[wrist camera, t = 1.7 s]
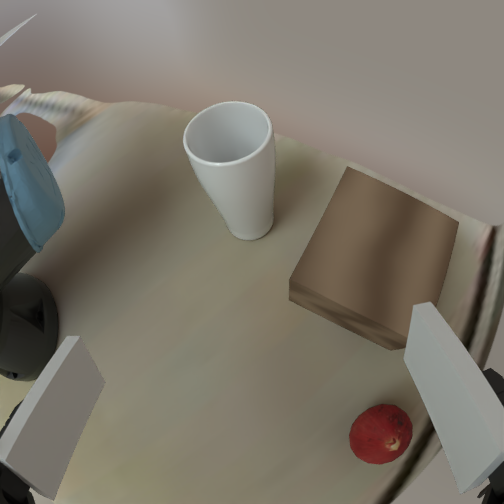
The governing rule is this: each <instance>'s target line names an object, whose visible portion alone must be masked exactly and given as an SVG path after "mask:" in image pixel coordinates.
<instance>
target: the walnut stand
mask: <svg viewBox="0 0 504 504" xmlns="http://www.w3.org/2000/svg"><path fill="white" fill-rule="evenodd" d="M458 225H459V222H458V221H456V220H454V219H452V218H451V217H449V216H447V215H445V214H443V213H442V212H440V211H438V210H436V209H434V208H433V207H431V206H429V205H427V204H425V203H423V202H421V201H419V200H417V199H415V198H413V197H412V196H410V195H408V194H406V193H404V192H402V191H400V190H398V189H396V188H393V187H391V186H389V185H387V184H385V183H383V182H381V181H379V180H377V179H375V178H372V177H370V176H368V175H366V174H364V173H361V172H359V171H357V170H355V169H352V168H350V167H348V166H347V168H346V170H345V172H344V174H343V176H342V178H341V180H340V182H339V184H338V186H337V188H336V190H335V192H334V194H333V196H332V198H331V200H330V202H329V204H328V206H327V208H326V210H325V212H324V214H323V216H322V218H321V220H320V222H319V224H318V226H317V228H316V230H315V232H314V234H313V236H312V238H311V240H310V241H309V243H308V245H307V247H306V249H305V251H304V253H303V255H302V257H301V258H300V260H299V262H298V264H297V266H296V268H295V270H294V272H293V273H292V275H291V277H290V279H289V300H290V301H292V302H294V303H296V304H298V305H300V306H302V307H304V308H306V309H308V310H310V311H312V312H314V313H316V314H318V315H320V316H322V317H324V318H326V319H328V320H330V321H332V322H334V323H336V324H338V325H340V326H342V327H344V328H346V329H348V330H350V331H352V332H354V333H356V334H358V335H360V336H362V337H364V338H366V339H368V340H370V341H372V342H374V343H376V344H378V345H380V346H382V347H384V348H387V349H389V350H396V349H402V348H406V344H407V339H408V334H409V328H410V323H411V317H412V311H413V305H416V304H421V303H426V302H431V303H432V304H433V305H434V307H435V308H436V305H437V302H438V299H439V296H440V293H441V289H442V286H443V283H444V280H445V276H446V273H447V269H448V266H449V262H450V258H451V254H452V250H453V246H454V242H455V238H456V234H457V229H458Z"/></svg>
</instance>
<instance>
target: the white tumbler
mask: <svg viewBox="0 0 504 504" xmlns="http://www.w3.org/2000/svg"><path fill="white" fill-rule="evenodd" d="M183 145H184V148H185V151H186V153H187V156H188V159H189V161H190V164H191V166H192V169H193V171H194V173H195V175H196V177H197V179H198V181H199V182H200V184H201V186H202V187H203V189H204V190H205V192H206V193H207V195H208V197H209V198H210V200H211V201H212V203H213V204H214V206H215V207H216V209H217V210H218V212H219V213H220V215H221V216H222V218H223V220H224V221H225V223H226V225H227V227H228V229H229V231H230V232H231V233H232V234H233V235H234V236H235V237H237V238H239V239H242V240H255V239H258V238H261V237H262V236H264V235H265V234H266V233H267V232H268V231H269V230H270V228H271V227H272V224H273V220H274V213H273V204H274V188H275V174H276V149H275V140H274V133H273V128H272V123H271V120H270V118H269V116H268V115H267V113H266V112H265V111H263V110H262V109H261V108H259V107H258V106H256V105H254V104H251V103H247V102H241V101H228V102H222V103H218V104H215V105H212V106H210V107H208V108H206V109H204V110H202V111H201V112H200V113H198V114H197V115H196V116H195V117H194V118H193V119H192V120H191V121H190V122H189V124H188V125H187V127H186V129H185V132H184V135H183Z"/></svg>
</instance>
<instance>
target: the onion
mask: <svg viewBox="0 0 504 504" xmlns="http://www.w3.org/2000/svg"><path fill="white" fill-rule="evenodd" d="M349 438H350V447H351V449H352V451H353V452H354V453H355V455H356V456H357V457H358V458H360V459H361V460H363V461H365V462H367V463H371V464H384V463H388V462H391V461H393V460H395V459H396V458H398V457H399V456H401V455H402V454H403V453H404V451H405V450H406V449H407V448H408V446H409V444H410V441H411V438H412V423H411V421H410V419H409V417H408V415H407V413H406V412H404V411H403V410H401V409H400V408H398V407H397V406H395V405H387V404H380V405H377V406H374V407H372V408H369V409H367V410H366V411H365V412H363V413H362V414H360V415H359V416H358V418H357V419H356V420H355V422H354V423H353V424H352V427H351V431H350V434H349Z"/></svg>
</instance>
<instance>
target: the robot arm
mask: <svg viewBox="0 0 504 504" xmlns="http://www.w3.org/2000/svg"><path fill="white" fill-rule="evenodd" d="M64 216H65V206H64V201H63V198H62V194H61V192H60V189H59V187H58V184H57V182H56V180H55V178H54V176H53V174H52V172H51V170H50V168H49V166H48V164H47V162H46V160H45V158H44V156H43V155H42V153H41V151H40V149H39V148H38V146H37V145H36V143H35V141H34V140H33V138H32V136H31V135H30V133H29V132H28V130H27V129H26V127H25V126H24V125H23V124H22V123H21V122H20V121H19V120H18V119H17V118H16V116H14V115H13V114H7V115H5V116H4V117H0V374H1V375H3V376H5V377H7V378H9V379H12V380H16V381H32V380H34V379H36V378H38V379H37V380H36V382H35V383H34V385H33V386H32V388H31V389H30V391H29V392H28V394H27V395H26V397H25V399H23V400H22V401H21V402H20V403H19V404H18V405H17V406H16V407H15V408H14V410H13V411H12V413H11V415H10V416H9V417H10V418H9V419H8V420H7V421H6V423H5V426H3V428H2V430H1V431H0V504H35V501H34V498H33V496H32V493H31V492H30V491H29V489H30V487H31V488H32V489H33V490H35V491H36V492H37V493H39V494H40V495H42V496H44V497H47V498H49V499H51V500H54V499H55V497H56V494H57V491H58V489H59V486H60V484H61V481H62V479H63V476H64V474H65V471H66V469H67V466H68V464H69V461H70V459H71V457H72V454H73V452H74V450H75V447H76V445H77V443H78V440H79V438H80V436H81V434H82V431H83V429H84V427H85V425H86V422H87V420H88V418H89V416H90V414H91V412H92V409H93V407H94V405H95V403H96V401H97V399H98V397H99V395H100V393H101V391H102V388H103V386H104V384H105V380H104V378H103V377H102V375H101V373H100V372H99V370H98V368H97V366H96V364H95V363H94V361H93V359H92V357H91V355H90V353H89V352H88V350H87V348H86V346H85V344H84V342H83V340H82V338H81V336H67V337H66V338H65V340H64V341H63V343H62V344H61V345H60V347H59V348H58V350H57V351H56V352H55V354H54V351H55V347H56V342H57V335H58V318H57V311H56V306H55V302H54V299H53V297H52V295H51V293H50V291H49V289H48V288H47V286H46V285H45V284H44V283H43V282H42V281H40V280H39V279H37V278H34V277H32V276H30V275H28V274H25V273H18V272H19V270H20V269H21V268H22V267H23V266H24V265H25V264H26V263H27V262H28V261H29V260H30V259H31V258H32V257H33V255H34V254H35V253H36V252H37V253H39V252H40V251H41V250H42V249H43V245H44V244H45V243H46V242H47V241H48V240H49V239H50V238H51V236H52V235H53V234H54V233H55V232H56V231H57V230H58V229H59V228H60V226H61V225H62V223H63V220H64ZM53 354H54V355H53ZM403 360H404V362H405V364H406V366H407V368H408V370H409V372H410V374H411V376H412V378H413V381H414V383H415V385H416V387H417V389H418V391H419V393H420V396H421V398H422V400H423V402H424V404H425V407H426V409H427V411H428V413H429V416H430V418H431V420H432V423H433V425H434V427H435V430H436V432H437V435H438V437H439V439H440V442H441V444H442V447H443V449H444V452H445V455H446V457H447V459H448V462H449V464H450V467H451V470H452V473H453V476H454V478H455V481H456V484H457V487H458V490H459V493H460V494H463V493H465V492H467V491H469V490H471V489H473V488H475V487H477V486H479V485H480V484H482V483H483V482H484V481H485V480H486V479H487V478H489V480H490V484H489V485H488V486H486V487H485V488H484V489H483V490H482V491H481V492H480V493H479V495H478V498H480V497H482V496H483V495H484V494H485V496H484V499H483V501H482V504H504V379H503V377H502V376H501V375H499V374H498V373H497V372H495V371H494V370H493V369H491V368H490V369H487V370H485V371H482V372H481V370H480V369H479V367H478V366H477V364H476V363H475V361H474V360H473V359H472V357H471V356H470V354H469V353H468V351H467V350H466V348H465V347H464V346H463V344H462V343H461V341H460V340H459V339H458V337H457V336H456V334H455V333H454V332H453V330H452V329H451V328H450V326H449V325H448V324H447V322H446V321H445V320H444V318H443V317H442V316H441V314H440V313H439V312H438V310H437V309H436V308H435V307H434V305H433V304H432V303H431V302H426V303H421V304H416V305H413V311H412V317H411V323H410V328H409V334H408V339H407V344H406V349H405V353H404V358H403Z"/></svg>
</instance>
